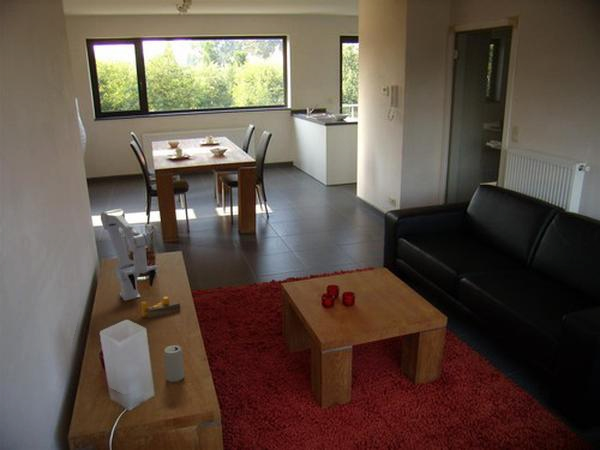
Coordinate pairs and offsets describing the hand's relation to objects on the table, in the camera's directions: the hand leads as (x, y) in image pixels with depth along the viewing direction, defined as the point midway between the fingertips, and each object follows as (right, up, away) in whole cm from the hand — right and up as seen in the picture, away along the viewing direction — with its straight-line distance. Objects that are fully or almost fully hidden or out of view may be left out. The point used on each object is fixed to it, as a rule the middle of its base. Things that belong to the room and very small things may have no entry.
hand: (142, 287), depth 236 cm
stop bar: (+11, -11, -5) cm, 17 cm away
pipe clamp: (+7, -11, -4) cm, 14 cm away
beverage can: (+29, -26, -55) cm, 67 cm away
